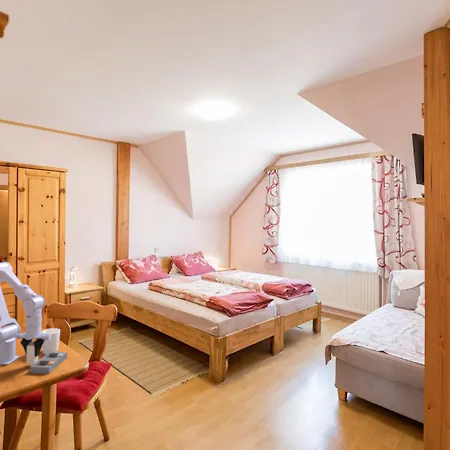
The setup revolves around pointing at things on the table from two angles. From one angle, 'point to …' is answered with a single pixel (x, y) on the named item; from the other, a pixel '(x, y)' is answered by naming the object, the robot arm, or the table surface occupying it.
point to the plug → (31, 354)
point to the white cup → (51, 341)
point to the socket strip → (48, 362)
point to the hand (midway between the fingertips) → (32, 355)
